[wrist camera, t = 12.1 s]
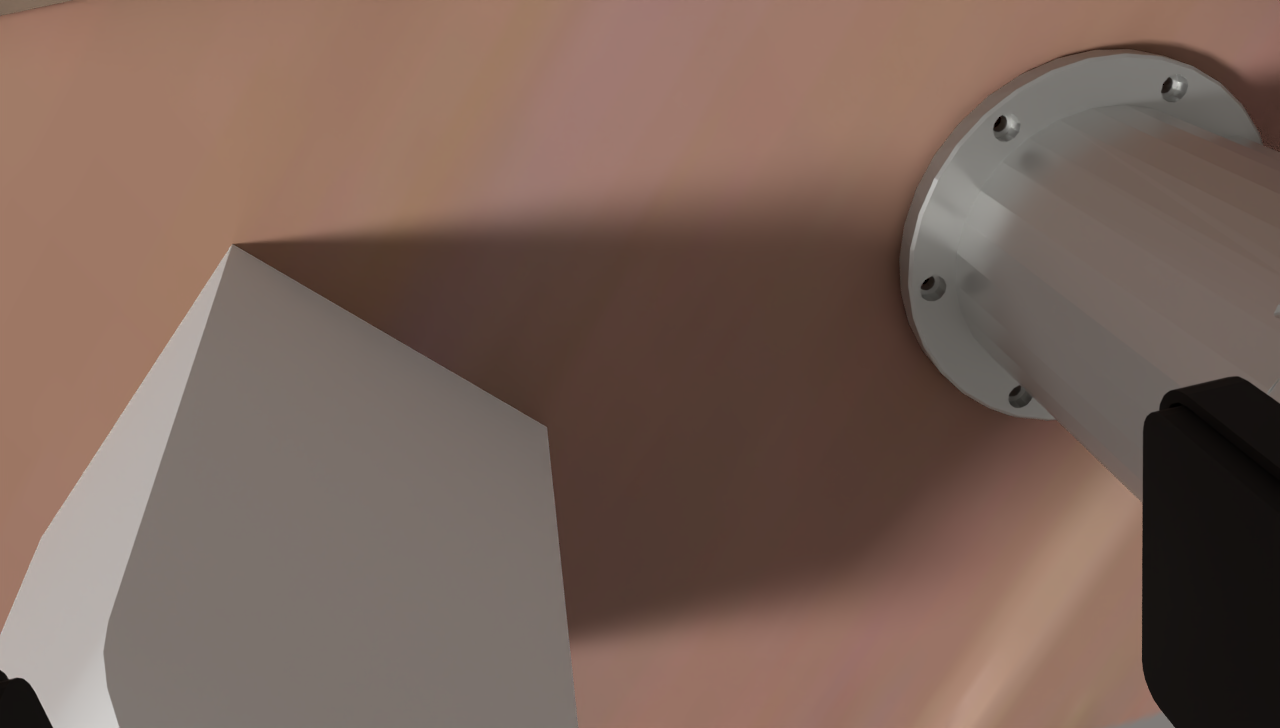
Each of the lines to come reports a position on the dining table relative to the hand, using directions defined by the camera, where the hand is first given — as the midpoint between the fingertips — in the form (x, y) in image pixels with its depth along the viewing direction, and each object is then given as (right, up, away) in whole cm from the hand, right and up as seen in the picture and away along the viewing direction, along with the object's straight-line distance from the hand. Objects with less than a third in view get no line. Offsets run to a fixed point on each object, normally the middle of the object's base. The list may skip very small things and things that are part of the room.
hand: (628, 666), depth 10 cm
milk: (-11, -1, +30) cm, 32 cm away
